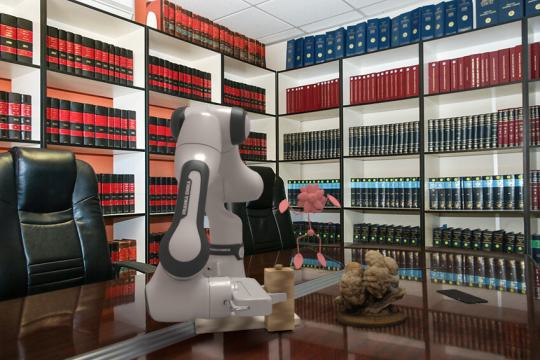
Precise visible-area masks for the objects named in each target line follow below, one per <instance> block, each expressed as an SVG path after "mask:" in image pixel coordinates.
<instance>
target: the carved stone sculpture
mask: <svg viewBox="0 0 540 360" xmlns="http://www.w3.org/2000/svg"><path fill="white" fill-rule="evenodd" d="M364 261H365V263H366V268H365V267H364V266H363V265H362V264H360V263H359V262H356V261H350V262H348V263H346V266H345V268H344V269H345V270H344V273H343V274H341V277H340V284H339V292H340V294H341V295H337V297H335V298H334V299H335V300H334V302H335V303H336V304H337V305H341V306H343V309H341V310H340V311H339V313H337V314H336V315H335V318H336V321H337V322H338V323H339V324H341V325H343V326H345V327H350V328H360V329H361V328H363V329H364V328H367V329H372V328H389V327H394V326H397V325H401V324H403V323H404V322H405V321H406V315H405V314H404V313H403V312H402V311H401V310H400V309H398V308H397V307H396V306H395V304H392V303H394V302H397V301H399V300H402V299H403V298H404V296H405V295H406V294H407V291H406V287H405V286H400V276H399V274H398V273H399V265H398V263H397V260H396V259H394V258H392V257H390V256H384V255H383V254H381V252H379V251H377V250H373V249H370V250H368V251H367V252H366V253H365V254H364Z"/></svg>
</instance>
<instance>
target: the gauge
mask: <svg viewBox="0 0 540 360" xmlns="http://www.w3.org/2000/svg"><path fill="white" fill-rule="evenodd" d="M263 271H264V272H263V276H264V277H263V279H264V280H263V283H264V284H263V285H264V290H265V291H266V292H267V293H271V294H274V293H277V292H285V293H286V294H287V300H286V301H285V302H278V303H275V304H272V314H270V315H267V316H264V321H265V327H266V328H265V329H266V330H267V332H275V331H277V332H278V331H288V330H295V328H296V327H295V326H296V325H295V318H294V313H295V270H294V269H293V268H291V267H290V266H289V267H285V266H284V267H283V264H280V263H279V264H278V263H277V264H275V266H274V267H268V268H267V267H266V268H264V269H263Z"/></svg>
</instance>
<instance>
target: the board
mask: <svg viewBox="0 0 540 360" xmlns="http://www.w3.org/2000/svg"><path fill="white" fill-rule="evenodd" d="M294 318H295V326H300V325H301V318H300V316H299V315H297V314H296V313H295V312H294ZM194 326H195V333H196V334H197V335H198V334H199V335H200V334H206V333H220V332H234V331H243V330H255V329H256V330H257V329H266V327H265V321H264V316H237V315H236V314H235V313H234V312H232V313H231V317H230V318H222V319H209V320H206V319H201V318H197V319H194Z"/></svg>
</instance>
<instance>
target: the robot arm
mask: <svg viewBox="0 0 540 360" xmlns="http://www.w3.org/2000/svg"><path fill="white" fill-rule="evenodd" d="M169 120H170V121H169V130H170V134H171V137H172V139H174V140H175V142H176V147H175V151H174V163H173V164H174V165H173V167H174V168H173V169H174V177H175V179H176V181H177V185H178V186H177V194H176V202H175V206H174V212H173V213H174V214H173V218H172V222H171V223H170V226H169V227H168V229H167V231H165V233H164V235H162V238H161V240H160V242H159V245H158V251H157V253H158V254H157V255H158V260H159V263H158V265H157V266H156V269H155V271H154V273H153V275H152V277H150V280H149V281H148V282H147V284H146V285H144V287H145V288H144V300H145V305H146V309H147V310H146V311H147V313H148V315H149V317H150V318H151V319H153V320H154V321H157V322H162V323H164V322H165V323H177V322H178V323H179V322H181V323H182V322H189V321H190V322H191V321H192V320H195V319H197V318H201V319H206V320H209V319H222V318H230V317H231V313H232V312H234V313H235V314H236V315H237V316H267V315H270V314H272V304H275V303H278V302H285V301H286V300H287V294H286V293H285V292H277V293H274V294H271V293H267V292H266V291H265V290H264V284H263V285H260V283H259V282H258V281H257V280H256V279H255V278H250V277H246V272H245V271H246V270H245V265H244V256H245V255H244V254H245V249H244V248H245V246H244V241H243V222H242V221H243V220H242V219H241V218H240V217H239V216H238V215H237V214H235V213H233V212H231V211H229V210H228V209H226V207H225V204H226V203H246V202H252V201H256V200H259V198H260V197H261V195H263V194H262V193H263V192H264V181H263V179H262V176H261V175H260V174H259V173H258V172H257V171H255V170H253V169H251V168H250V167H249V166H247V165H246V164H245V163H244V162H243V160H242V158H241V155H240V151H239V145H242V144H244V143H245V142H247V140H248V137H249V135H250V131H251V121H250V118H249V115H248V112H247V111H246V110H245V109H244V108H241V107H238V106H231V107H230V106H224V105H218V104H217V105H212V104H211V105H196V106H188V105H185V106H184V105H183V106H179V107H177V108H175V109H174V110H173V111H172V113H171V116H170V119H169ZM205 214H206V215H205ZM205 216H206V217H207V221H208V225H209V226H208V227H209V239H208V236H207V233H206V229H205Z"/></svg>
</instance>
